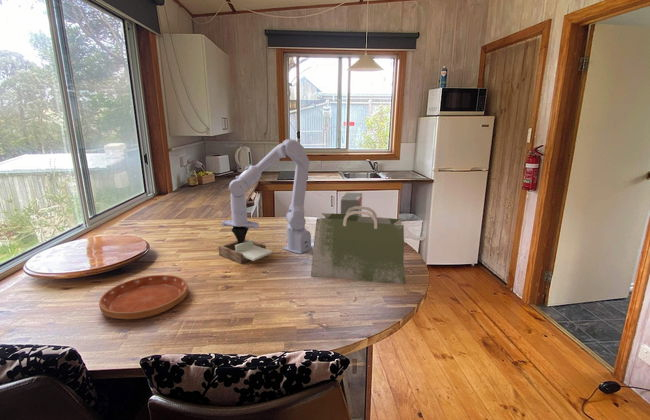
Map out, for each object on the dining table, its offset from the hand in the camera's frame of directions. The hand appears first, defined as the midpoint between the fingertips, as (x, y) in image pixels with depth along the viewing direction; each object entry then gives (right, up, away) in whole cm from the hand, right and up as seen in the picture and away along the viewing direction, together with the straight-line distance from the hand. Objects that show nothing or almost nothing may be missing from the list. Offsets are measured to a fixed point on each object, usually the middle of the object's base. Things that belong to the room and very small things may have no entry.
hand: (241, 244), depth 133 cm
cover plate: (+5, -3, -4) cm, 7 cm away
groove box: (0, -4, +1) cm, 4 cm away
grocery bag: (+44, -8, -15) cm, 47 cm away
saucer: (-20, -14, -33) cm, 41 cm away
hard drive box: (+44, 0, +16) cm, 47 cm away
